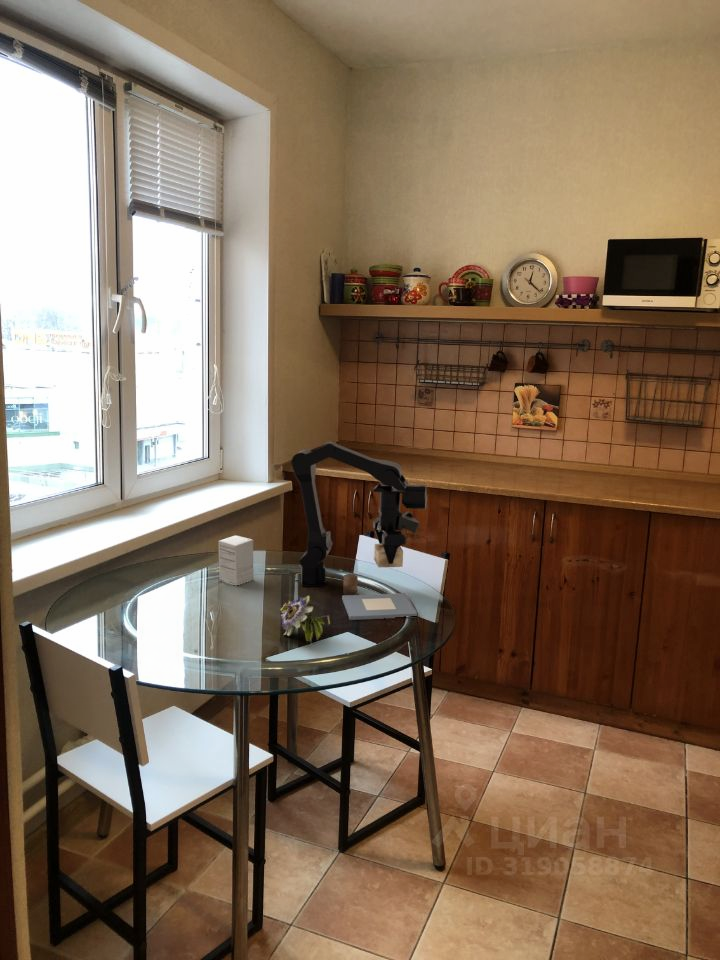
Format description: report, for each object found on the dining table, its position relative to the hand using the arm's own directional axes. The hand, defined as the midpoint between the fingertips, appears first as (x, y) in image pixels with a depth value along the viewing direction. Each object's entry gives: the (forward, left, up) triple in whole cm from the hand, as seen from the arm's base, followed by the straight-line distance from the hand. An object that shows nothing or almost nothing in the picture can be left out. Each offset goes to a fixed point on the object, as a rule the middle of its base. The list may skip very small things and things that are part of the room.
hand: (388, 559), depth 223 cm
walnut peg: (-11, -2, -9) cm, 14 cm away
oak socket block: (0, 0, -1) cm, 1 cm away
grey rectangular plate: (-5, -14, -9) cm, 17 cm away
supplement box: (-43, +11, -9) cm, 45 cm away
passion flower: (-27, -29, -9) cm, 41 cm away
